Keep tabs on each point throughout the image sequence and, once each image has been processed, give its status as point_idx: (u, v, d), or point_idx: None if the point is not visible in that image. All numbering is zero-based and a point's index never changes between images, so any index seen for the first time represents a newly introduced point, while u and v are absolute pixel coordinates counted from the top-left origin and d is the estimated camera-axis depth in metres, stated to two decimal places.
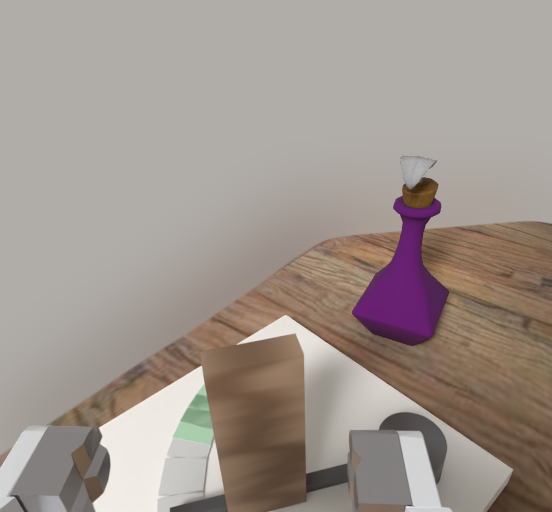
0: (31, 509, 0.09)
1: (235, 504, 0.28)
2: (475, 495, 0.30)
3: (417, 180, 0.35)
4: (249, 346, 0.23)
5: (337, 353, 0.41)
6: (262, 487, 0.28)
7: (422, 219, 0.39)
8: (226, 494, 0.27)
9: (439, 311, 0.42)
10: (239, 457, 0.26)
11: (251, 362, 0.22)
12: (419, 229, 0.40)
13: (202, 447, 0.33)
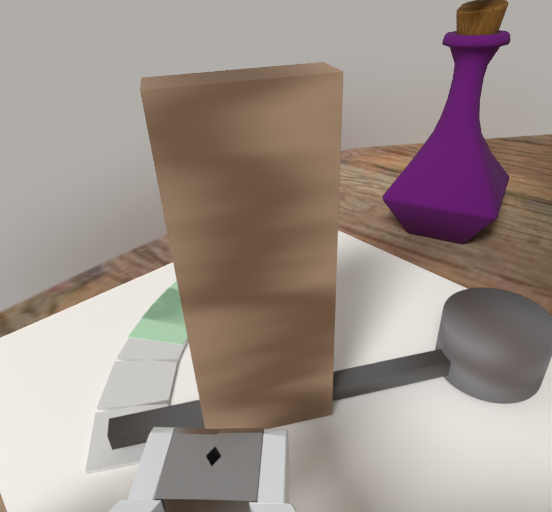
0: None
1: (216, 410, 0.17)
2: None
3: None
4: (237, 71, 0.12)
5: (365, 245, 0.30)
6: (261, 380, 0.16)
7: (485, 52, 0.28)
8: (200, 388, 0.16)
9: (501, 193, 0.31)
10: (221, 312, 0.14)
11: (240, 80, 0.11)
12: (479, 70, 0.29)
13: (171, 347, 0.22)
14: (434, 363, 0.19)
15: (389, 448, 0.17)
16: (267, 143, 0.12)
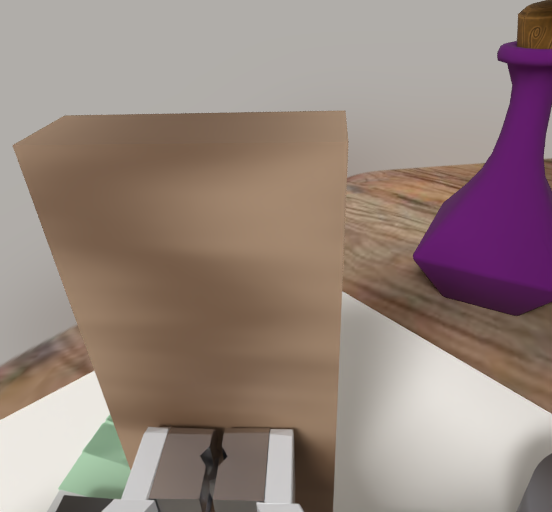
0: None
1: None
2: None
3: None
4: (195, 119, 0.08)
5: (391, 324, 0.23)
6: None
7: None
8: None
9: None
10: None
11: (169, 140, 0.07)
12: (548, 95, 0.22)
13: None
14: None
15: None
16: (216, 240, 0.07)
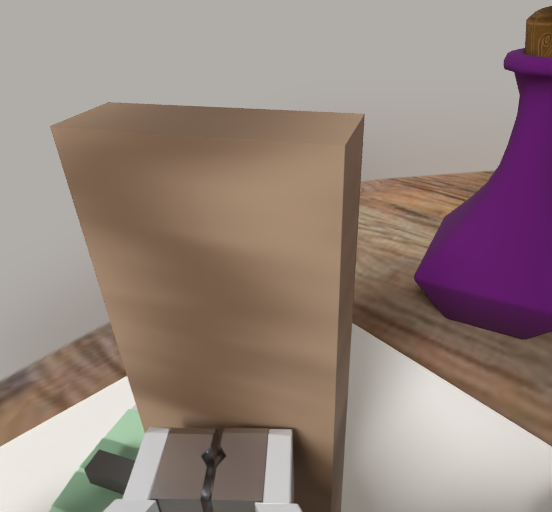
0: None
1: None
2: None
3: None
4: (216, 112, 0.08)
5: (392, 352, 0.21)
6: None
7: None
8: None
9: None
10: (176, 414, 0.11)
11: (180, 131, 0.07)
12: None
13: None
14: None
15: None
16: (220, 231, 0.08)
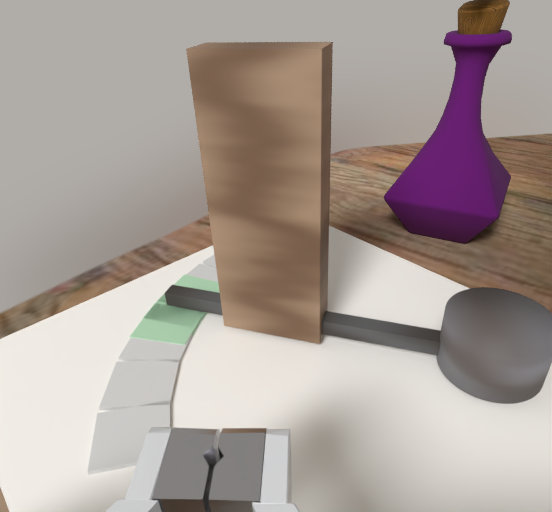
0: None
1: (230, 300, 0.22)
2: None
3: None
4: (263, 43, 0.17)
5: (366, 245, 0.30)
6: (262, 288, 0.21)
7: (486, 51, 0.28)
8: (219, 278, 0.22)
9: (503, 192, 0.31)
10: (234, 222, 0.20)
11: (249, 48, 0.16)
12: (480, 69, 0.29)
13: (172, 347, 0.22)
14: (423, 338, 0.20)
15: (391, 448, 0.17)
16: (265, 97, 0.16)
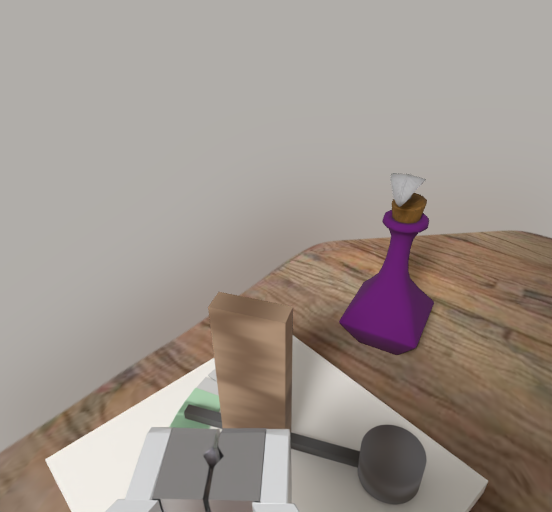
0: None
1: (228, 424, 0.34)
2: (451, 506, 0.31)
3: (406, 198, 0.36)
4: (253, 302, 0.29)
5: (324, 361, 0.42)
6: (249, 421, 0.33)
7: (410, 234, 0.40)
8: (221, 412, 0.34)
9: (424, 322, 0.44)
10: (232, 387, 0.32)
11: (245, 313, 0.28)
12: (407, 243, 0.41)
13: None
14: (348, 457, 0.33)
15: None
16: (253, 336, 0.28)
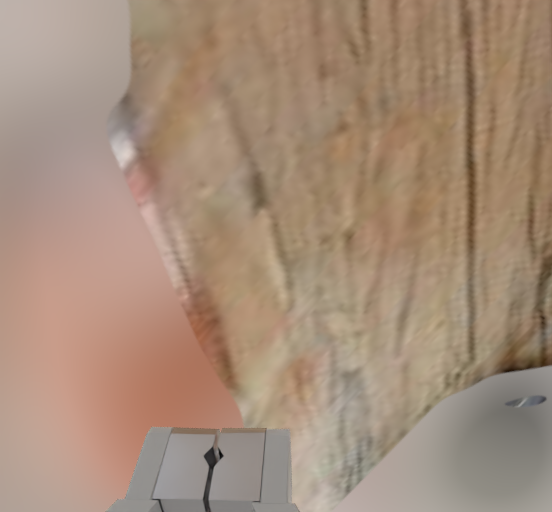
0: None
1: None
2: None
3: None
4: None
5: None
6: None
7: None
8: None
9: None
10: None
11: None
12: None
13: None
14: None
15: None
16: None
